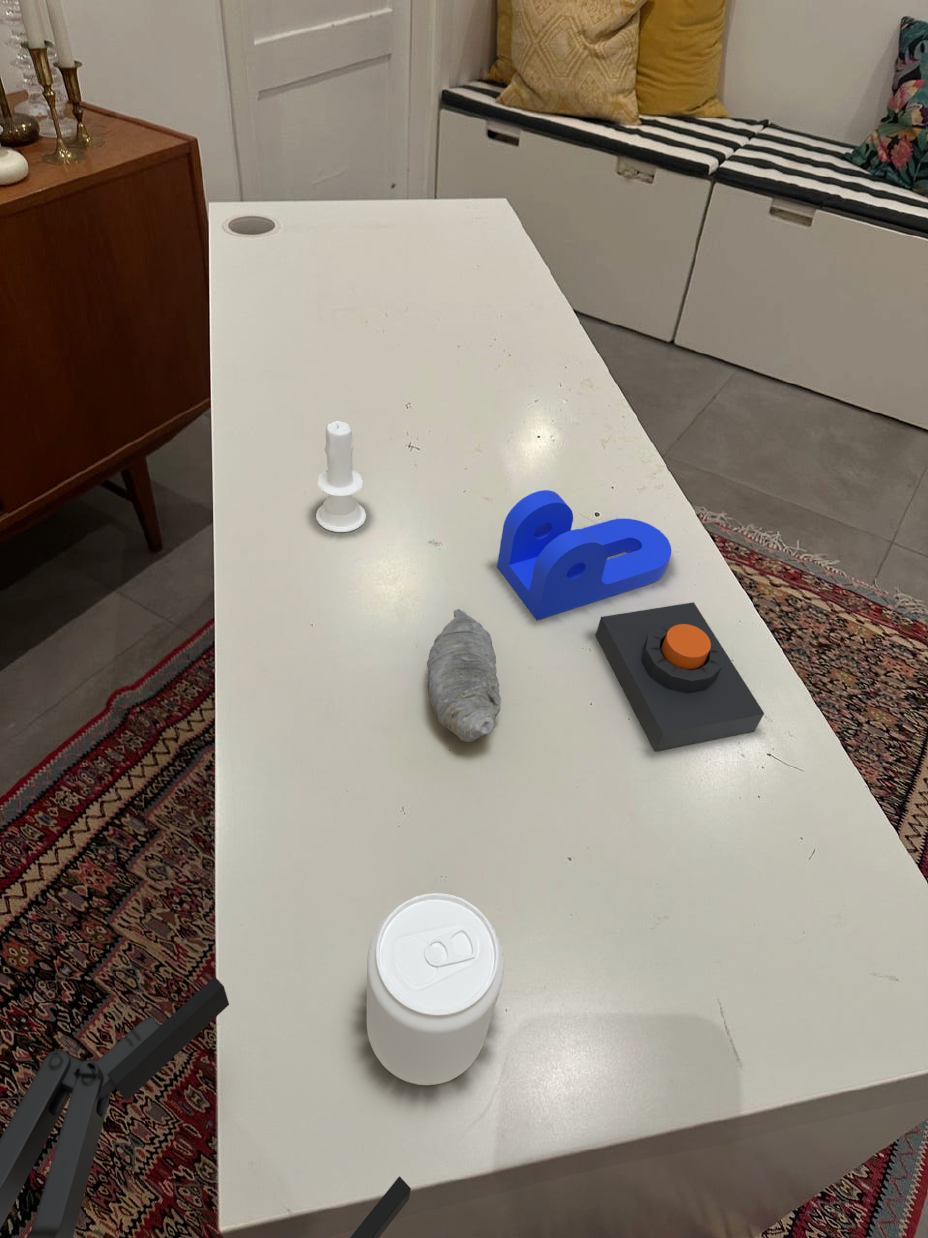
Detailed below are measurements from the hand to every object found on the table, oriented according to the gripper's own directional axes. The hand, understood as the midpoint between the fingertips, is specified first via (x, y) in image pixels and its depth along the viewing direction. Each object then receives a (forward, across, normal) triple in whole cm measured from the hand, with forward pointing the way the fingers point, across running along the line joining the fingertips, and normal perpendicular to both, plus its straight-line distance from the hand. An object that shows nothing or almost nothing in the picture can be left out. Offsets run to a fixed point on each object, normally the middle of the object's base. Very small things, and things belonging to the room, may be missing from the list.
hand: (308, 1082), depth 44 cm
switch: (+48, -4, -8) cm, 49 cm away
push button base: (+48, -4, -12) cm, 50 cm away
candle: (+42, -42, -13) cm, 61 cm away
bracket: (+55, -18, -13) cm, 59 cm away
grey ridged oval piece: (+33, -17, -13) cm, 39 cm away
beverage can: (+10, 0, -13) cm, 16 cm away
